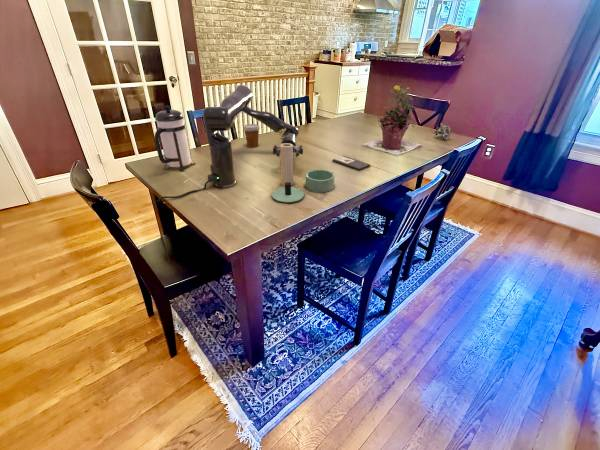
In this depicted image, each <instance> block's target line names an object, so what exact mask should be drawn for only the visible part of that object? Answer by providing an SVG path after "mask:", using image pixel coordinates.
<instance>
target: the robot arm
mask: <svg viewBox="0 0 600 450" xmlns="http://www.w3.org/2000/svg"><path fill="white" fill-rule="evenodd" d="M253 95H254V94H253V91H252V90H251V88H249V87H248V86H247V85H244V84H238V85H237V86H236V87H235V89H234V91H232V92H231V93H230V94H228V95H227V96H226V97H225V98H223V99H222V101H221V103H220V106H206V107H204V109H203V111H202V120H203V125H204V126H203V127H204V130H205V135H206V141H207V143H208V148H209V155H210V160H211V164H210V166H209V168H210V174H207V176H206V177H207V181H206V182H205V183H204V187H203V188H200V189H193V190H190V191H187V192H185V193H182V194H180V195H173V196H169V195H167V196H162V197H160V198H158V199H157V201H156V202H157V203H158V202H160V201H161V200H163V199H178V198H181V197H184V196H186V195H188V194H191V193H196V192H200V191H204V190H206V188H207V184H208V183H211V184H212V185H213V186H215V187H217V188H219V189H225V188H230V187H233V186H235V185H236V183H237V182H236V181H237V180H236V174H235V165H234V157H233V148H232V142H231V141H232V140H231V139H230V138H229V137H227V136H224V135H222V134H221V133H219V132H227V131H229V130H230V129H231V128H232V126H233V125H234V122H235V120H236V119H237V118H238V116H239V115H240V114H241V113H244V114H246V115H247V116H250V117H251V118H253V119H255V120H257V121H259V122H260V123H262V124H263V125H265V126H266V127H267V128H269V129H270V130H272V131H273V132H274V133H276V134H277V133H279V132H280V131H281V130H283V129H285V130H284V131H283V133H282V134H281V136H280V141H281V142H280V143H281V144H284V143H290V144H292V145H293V155H295V157H296V158H298V157H299V156H300V155H304V147H303V145H299V146H297V137H298V136H299V135H300V131H299V129H298V128H297V126H295V125H292V124H290V123H287V122H286V121H283V120H282V119H280V118H279V117H278V116H276V115H275V114H274V113H272V112H269V111H263V110H256V109H253V108H251V107H249V104H250V103H251V101H252V99H253V97H254V96H253ZM281 144H280V145H281ZM272 154H273V155H276V157H277V158H280V156H281V155H280V146H278V145H277V144H275V145H273V147H272ZM159 237H160V240H161V243H162V247H163V250H164V253H165V255H166V256H165V257H166V259H167V262H168V261H170V262H171V260H170V257H169V254H168V251H167V247H166V245H165V241H164V237H163V235H160V236H159Z"/></svg>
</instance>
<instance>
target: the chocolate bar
mask: <svg viewBox="0 0 600 450" xmlns="http://www.w3.org/2000/svg"><path fill="white" fill-rule="evenodd" d="M332 162H334V163H336V164H339V165H342V166H345V167H348V168H350V169H354V170H356V171H359V172H360V171H362V170H364V169H367V168H369V167H371V164H370V163H367V162H364V161H360V160H357V159H355V158H352V157H349V156H346V155H342V156H339V157H336V158H333V159H332Z"/></svg>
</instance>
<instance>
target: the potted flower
mask: <svg viewBox="0 0 600 450" xmlns="http://www.w3.org/2000/svg"><path fill="white" fill-rule="evenodd" d="M401 86H402V83H400V82H397V85H394V86H393V88H392V89H390V90H389V92H390V93H391V94H394V95H396V98H390V99H389V103H390V104H394V103H395V102H396V105H395V107H390V106H384V107H383V109H386V111H383V110H382V112H383V113H385V116H384V115H381V116H379V115H378V114H377V115H376V116H377V117H376V118H377V122H378V123H379V127H380V129H381V132H382V133H381V134H382V137H381V138H380V139H374V140H372V141H368V142H367V141H366V142H364V143H362V146H363V147H365V148H369V149H372V150H376V151H380V152H382V153H386V154H389V155H392V156H396V157H397V156H400V155H402V154H405V153H408V152H410V151H413V150H416V149H419V148H421V147H422V144H420V143H417V142H411V141H405V140H403V138H404V136H405V134H406V132H407V131H408V129H409V126H410V125H411V126H412V127H413V128H414V129H416V128H415V125H414V123H413V122H412V120H413V119H412V118H413V117H412V116H411V115H410V112H411V111H415V112H416V113H419V110H417V109H416V108H414V105H413V104H412V103H411V104H410V103H409V100H411V101H414V98H411V97H413V96H412V95H410V96H409V94H410V90H411V89H410V87H411V86H409V87H406V88H405V89H404V88H403V87H401ZM399 104H400V105H399ZM387 110H389V112H388V111H387ZM407 110H408V111H409V112H408V113H407ZM378 144H382V147H378ZM401 147H403V149H404V150H405V151H404V150H402V149H401Z"/></svg>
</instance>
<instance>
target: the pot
mask: <svg viewBox="0 0 600 450" xmlns="http://www.w3.org/2000/svg"><path fill="white" fill-rule="evenodd" d="M305 188H306V189H307V190H308V191H310V192H313V193H327V192H330V191H332V190H333V189H334V188H335V173H334V172H332V171H330V170H327V169H312V170H309V171H307V172H306V173H305Z"/></svg>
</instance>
